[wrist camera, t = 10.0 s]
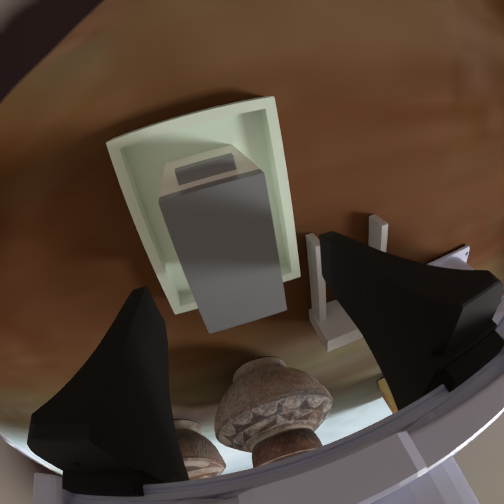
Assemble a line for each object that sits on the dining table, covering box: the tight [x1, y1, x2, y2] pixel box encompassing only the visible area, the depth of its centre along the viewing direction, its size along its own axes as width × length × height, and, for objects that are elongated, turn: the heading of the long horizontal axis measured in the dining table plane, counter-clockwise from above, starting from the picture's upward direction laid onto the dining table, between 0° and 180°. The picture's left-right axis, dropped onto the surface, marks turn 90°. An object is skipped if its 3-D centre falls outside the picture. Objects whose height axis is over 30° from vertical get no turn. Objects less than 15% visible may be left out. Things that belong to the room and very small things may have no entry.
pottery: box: [174, 357, 333, 480], centre depth 25 cm, size 11×25×12 cm, turn 134°
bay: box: [305, 214, 388, 352], centre depth 22 cm, size 9×7×4 cm
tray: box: [106, 96, 301, 315], centre depth 17 cm, size 12×9×2 cm
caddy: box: [158, 145, 287, 334], centre depth 15 cm, size 8×4×7 cm, turn 11°
